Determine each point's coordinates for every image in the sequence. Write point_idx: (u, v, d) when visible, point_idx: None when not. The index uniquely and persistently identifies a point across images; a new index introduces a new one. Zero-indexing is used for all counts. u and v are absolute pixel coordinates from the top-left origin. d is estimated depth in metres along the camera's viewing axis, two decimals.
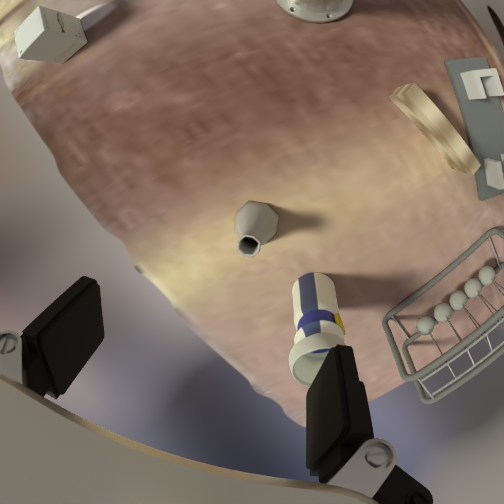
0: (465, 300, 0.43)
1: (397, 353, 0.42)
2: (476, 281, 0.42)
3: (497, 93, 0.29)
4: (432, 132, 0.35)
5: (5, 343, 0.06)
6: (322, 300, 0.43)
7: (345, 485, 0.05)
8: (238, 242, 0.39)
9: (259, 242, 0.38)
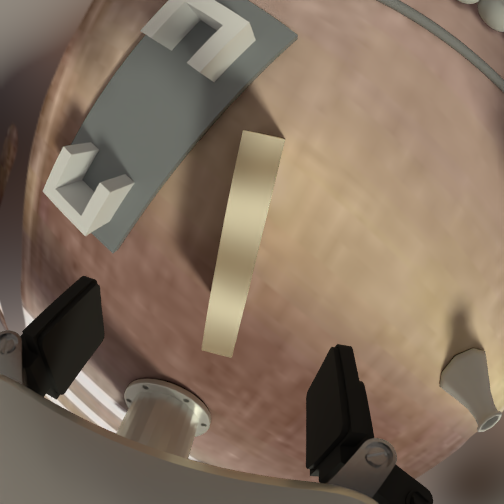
0: (496, 1, 0.09)
1: None
2: None
3: (75, 157, 0.20)
4: None
5: (5, 343, 0.06)
6: None
7: (345, 485, 0.05)
8: None
9: (488, 419, 0.19)
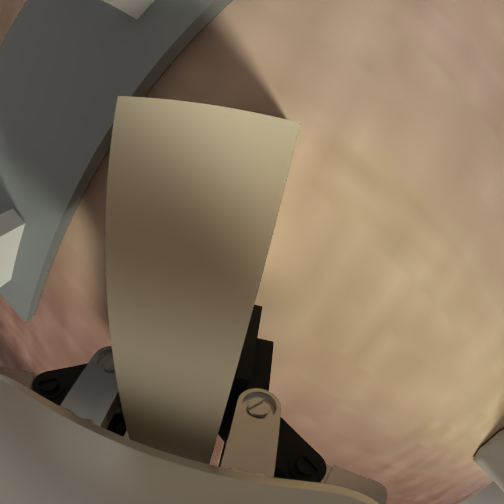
0: None
1: None
2: None
3: None
4: None
5: None
6: None
7: (243, 446, 0.06)
8: None
9: None
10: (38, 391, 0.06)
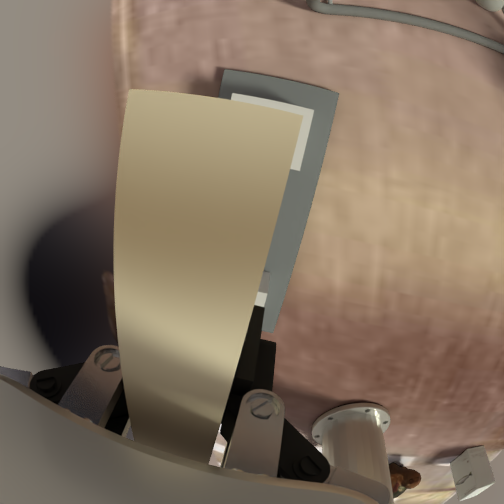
0: None
1: None
2: None
3: None
4: None
5: (110, 358, 0.08)
6: None
7: (246, 447, 0.06)
8: None
9: None
10: (35, 389, 0.06)
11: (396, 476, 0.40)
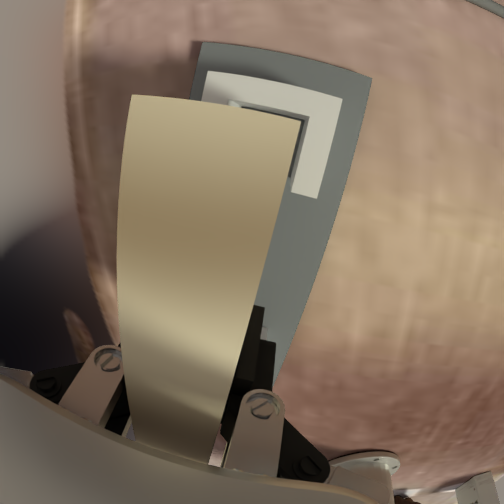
0: None
1: None
2: None
3: None
4: None
5: (110, 358, 0.08)
6: None
7: (246, 447, 0.06)
8: None
9: None
10: (35, 389, 0.06)
11: None
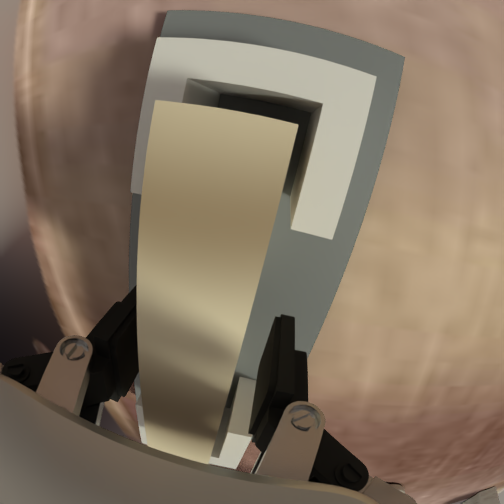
0: None
1: None
2: None
3: None
4: None
5: (74, 347, 0.07)
6: None
7: (282, 456, 0.06)
8: None
9: None
10: (7, 375, 0.06)
11: None
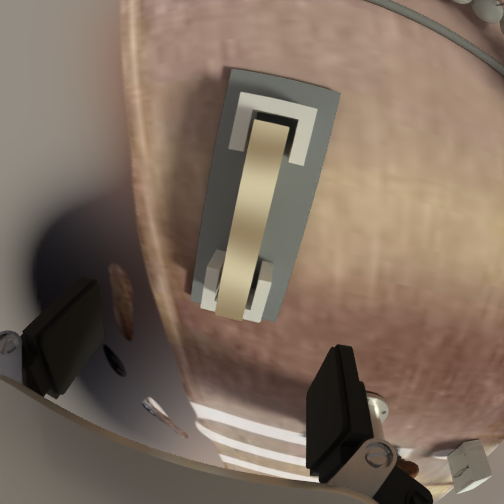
0: None
1: None
2: None
3: (220, 269, 0.27)
4: None
5: (5, 343, 0.06)
6: None
7: (345, 485, 0.05)
8: None
9: None
10: None
11: None
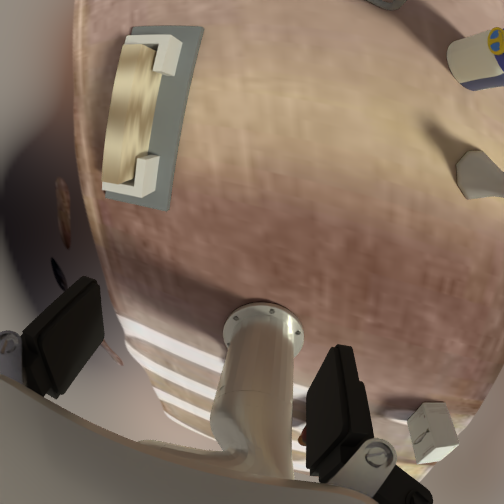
0: None
1: None
2: None
3: None
4: (138, 117, 0.29)
5: (5, 343, 0.06)
6: (491, 71, 0.19)
7: (345, 485, 0.05)
8: None
9: None
10: None
11: None
